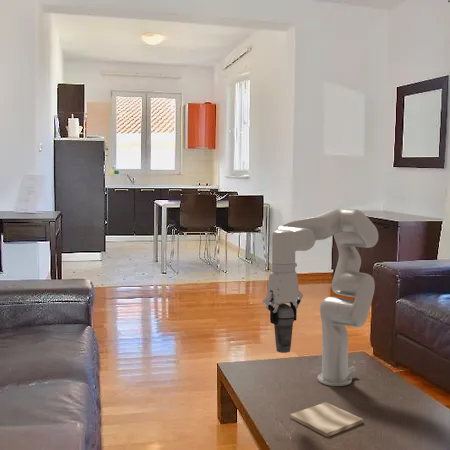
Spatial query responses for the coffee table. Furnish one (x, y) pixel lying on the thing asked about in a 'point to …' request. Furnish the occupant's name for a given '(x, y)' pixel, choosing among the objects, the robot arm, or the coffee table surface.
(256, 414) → the coffee table surface
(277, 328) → the beverage cup
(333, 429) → the birch board
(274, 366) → the coffee table surface
